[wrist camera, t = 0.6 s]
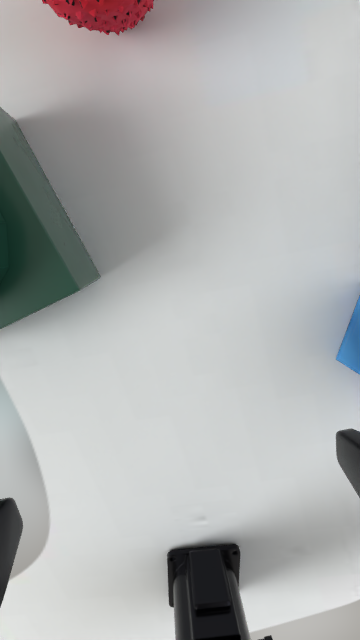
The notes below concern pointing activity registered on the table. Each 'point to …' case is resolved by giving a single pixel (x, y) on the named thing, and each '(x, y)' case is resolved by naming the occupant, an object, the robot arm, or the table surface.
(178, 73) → the table surface
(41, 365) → the table surface
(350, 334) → the perfume bottle
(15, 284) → the button housing
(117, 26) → the strawberry
